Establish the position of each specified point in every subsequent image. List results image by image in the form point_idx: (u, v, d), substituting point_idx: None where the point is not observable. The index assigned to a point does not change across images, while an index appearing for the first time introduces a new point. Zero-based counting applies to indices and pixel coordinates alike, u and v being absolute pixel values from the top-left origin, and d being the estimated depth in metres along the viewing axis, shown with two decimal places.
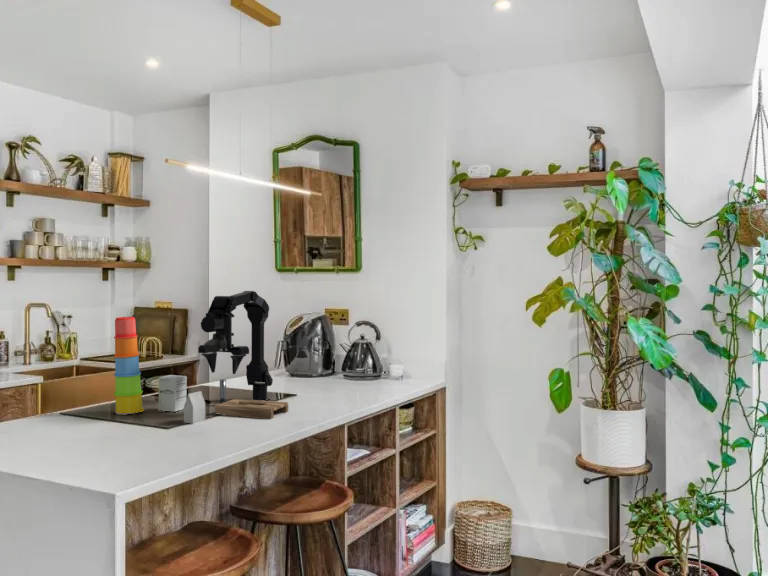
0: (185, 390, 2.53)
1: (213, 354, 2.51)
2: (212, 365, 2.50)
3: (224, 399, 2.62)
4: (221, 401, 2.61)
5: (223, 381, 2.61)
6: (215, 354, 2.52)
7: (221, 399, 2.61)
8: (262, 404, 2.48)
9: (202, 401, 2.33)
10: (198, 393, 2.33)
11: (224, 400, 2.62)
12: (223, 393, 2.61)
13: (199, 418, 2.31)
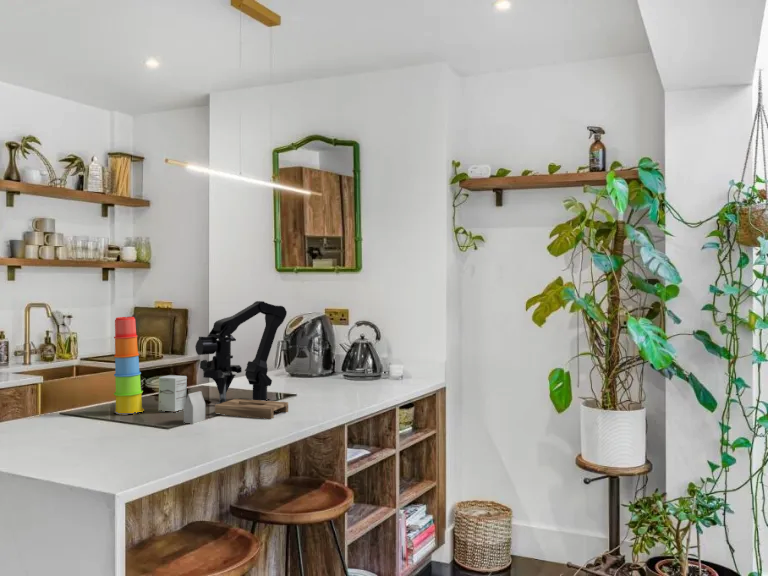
0: (185, 390, 2.53)
1: (227, 376, 2.64)
2: None
3: (224, 399, 2.62)
4: (221, 401, 2.61)
5: None
6: (229, 376, 2.64)
7: (221, 399, 2.61)
8: (262, 404, 2.48)
9: (202, 401, 2.33)
10: (198, 393, 2.33)
11: (224, 400, 2.62)
12: (223, 393, 2.61)
13: (199, 418, 2.31)
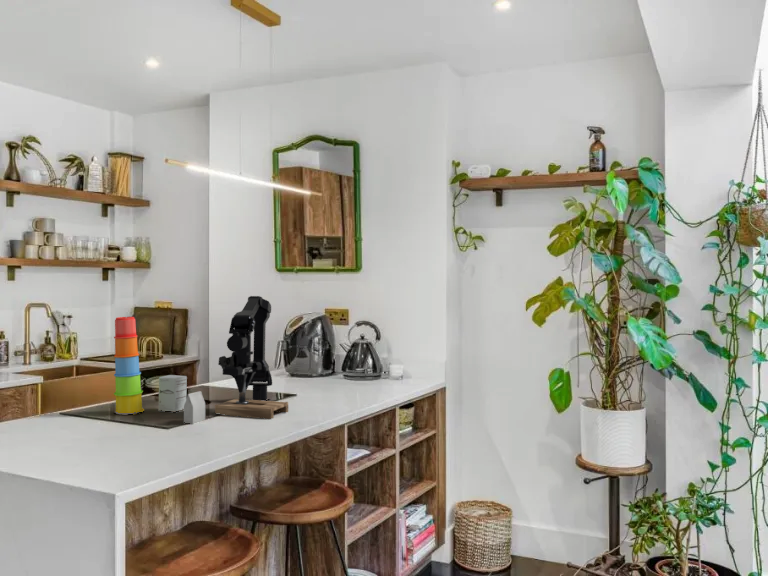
0: (185, 390, 2.53)
1: (247, 373, 2.50)
2: None
3: (244, 397, 2.48)
4: (241, 399, 2.48)
5: None
6: (249, 373, 2.50)
7: (241, 397, 2.48)
8: (262, 404, 2.48)
9: (202, 401, 2.33)
10: (198, 393, 2.33)
11: (244, 398, 2.48)
12: (243, 391, 2.48)
13: (199, 418, 2.31)
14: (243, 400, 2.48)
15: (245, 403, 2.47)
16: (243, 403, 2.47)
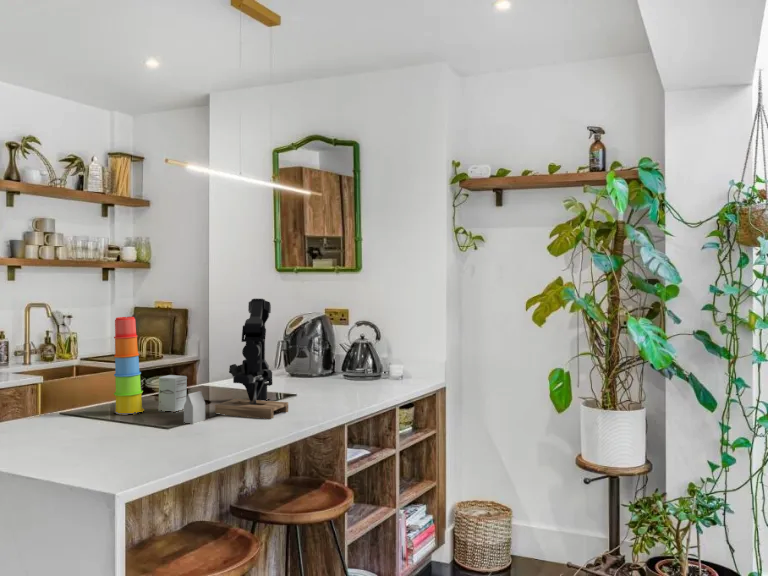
0: (185, 390, 2.53)
1: (257, 381, 2.49)
2: None
3: None
4: None
5: None
6: (260, 382, 2.48)
7: None
8: (262, 404, 2.48)
9: (202, 401, 2.33)
10: (198, 393, 2.33)
11: None
12: (253, 399, 2.46)
13: (199, 418, 2.31)
14: None
15: None
16: None
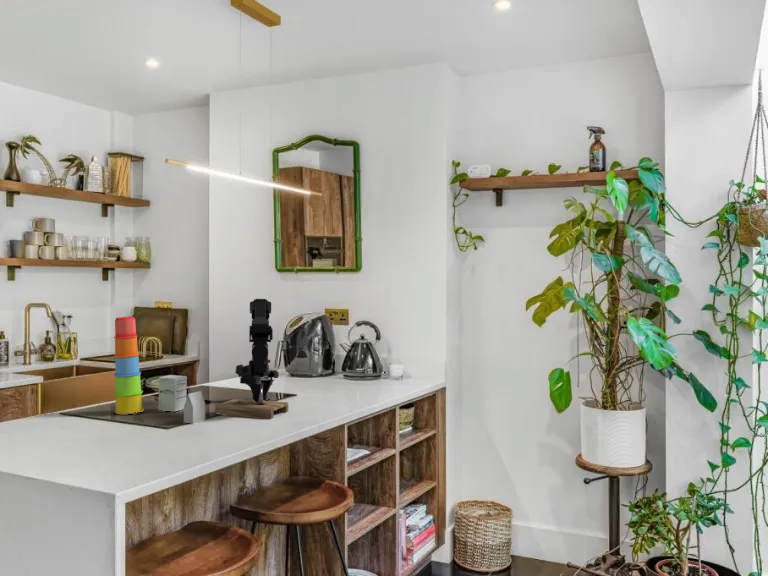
0: (185, 390, 2.53)
1: (265, 381, 2.49)
2: None
3: None
4: None
5: None
6: (268, 382, 2.49)
7: None
8: None
9: (202, 401, 2.33)
10: (198, 393, 2.33)
11: None
12: (260, 401, 2.46)
13: (199, 418, 2.31)
14: None
15: None
16: None
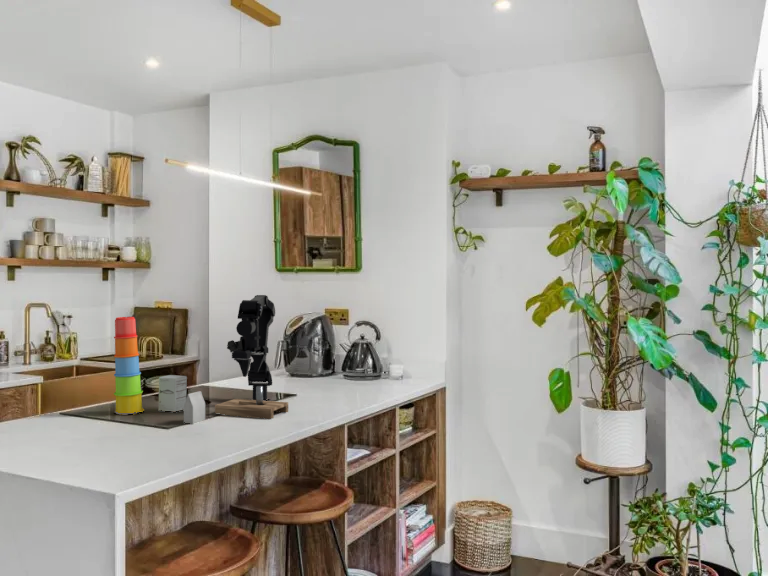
0: (185, 390, 2.53)
1: (258, 355, 2.62)
2: (255, 366, 2.62)
3: None
4: None
5: (260, 388, 2.46)
6: (261, 356, 2.62)
7: None
8: None
9: (202, 401, 2.33)
10: (198, 393, 2.33)
11: None
12: (260, 401, 2.46)
13: (199, 418, 2.31)
14: None
15: None
16: None
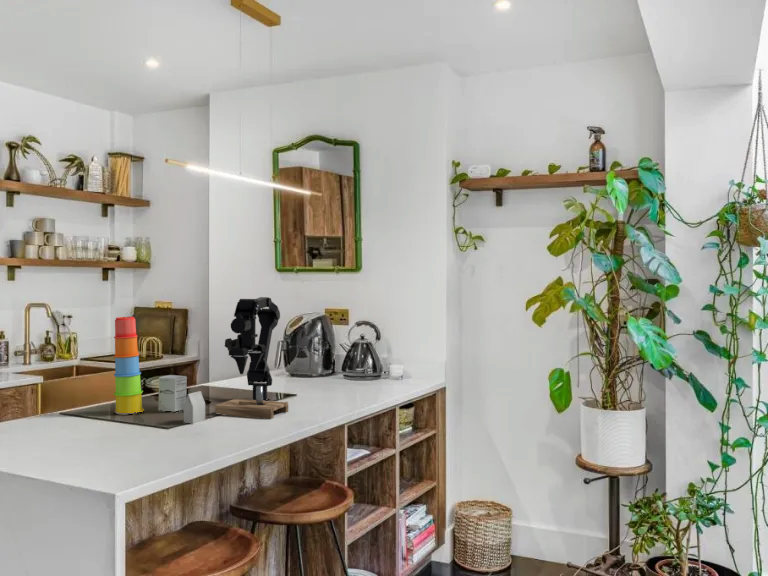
0: (185, 390, 2.53)
1: (256, 354, 2.65)
2: (252, 364, 2.65)
3: None
4: None
5: (260, 388, 2.46)
6: (258, 354, 2.64)
7: None
8: None
9: (202, 401, 2.33)
10: (198, 393, 2.33)
11: None
12: (260, 401, 2.46)
13: (199, 418, 2.31)
14: None
15: None
16: None
